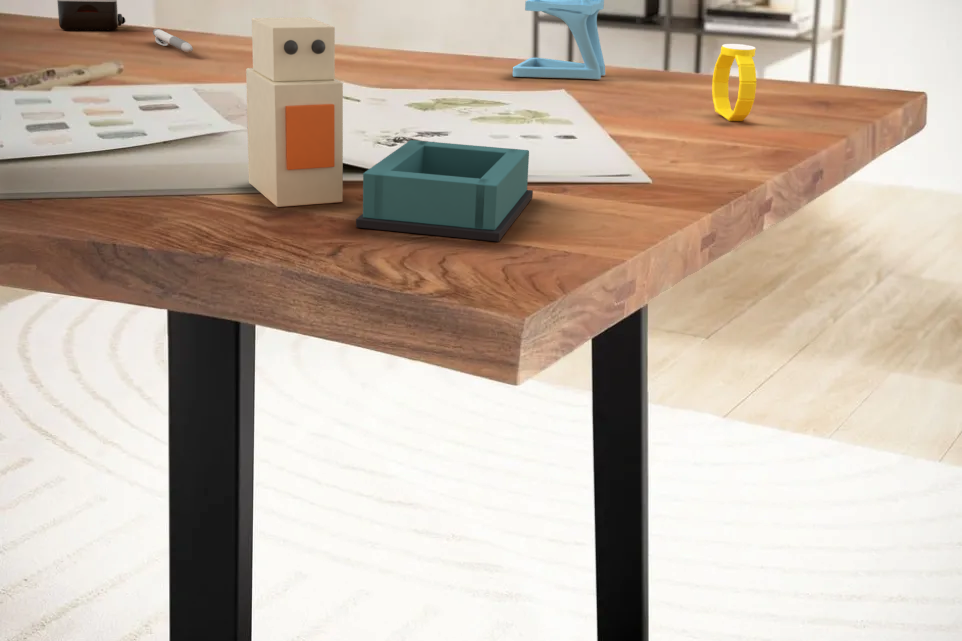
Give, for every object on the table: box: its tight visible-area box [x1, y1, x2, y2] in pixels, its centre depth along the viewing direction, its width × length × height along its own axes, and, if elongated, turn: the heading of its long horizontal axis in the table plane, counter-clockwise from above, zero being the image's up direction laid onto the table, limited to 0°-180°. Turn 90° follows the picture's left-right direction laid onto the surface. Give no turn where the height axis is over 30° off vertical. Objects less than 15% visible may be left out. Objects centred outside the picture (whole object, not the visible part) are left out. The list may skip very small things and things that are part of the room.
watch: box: [711, 43, 757, 122], centre depth 101 cm, size 6×3×6 cm, turn 12°
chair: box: [512, 0, 606, 80], centre depth 119 cm, size 8×8×12 cm
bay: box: [355, 139, 534, 243], centre depth 70 cm, size 10×8×3 cm
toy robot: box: [245, 16, 344, 208], centre depth 72 cm, size 6×4×10 cm, turn 25°
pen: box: [152, 28, 194, 53], centre depth 127 cm, size 1×14×1 cm, turn 29°
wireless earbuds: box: [56, 0, 127, 32], centre depth 139 cm, size 5×7×3 cm, turn 105°
